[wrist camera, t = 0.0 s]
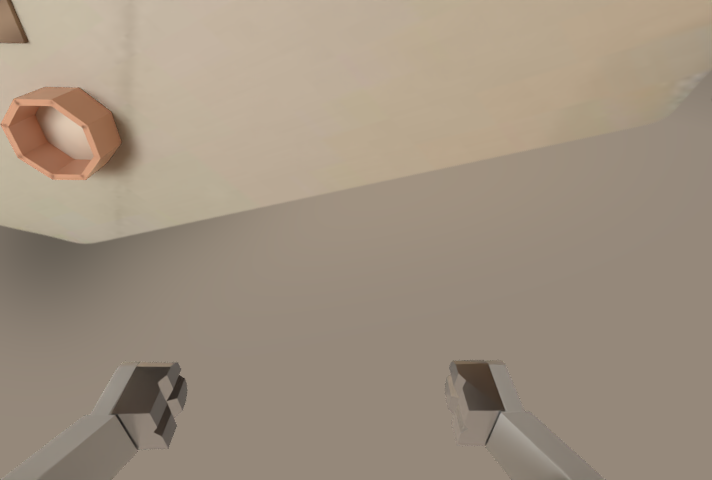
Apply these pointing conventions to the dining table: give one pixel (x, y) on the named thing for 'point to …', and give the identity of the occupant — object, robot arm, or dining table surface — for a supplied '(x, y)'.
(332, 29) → the dining table surface
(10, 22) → the lid
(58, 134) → the bowl
